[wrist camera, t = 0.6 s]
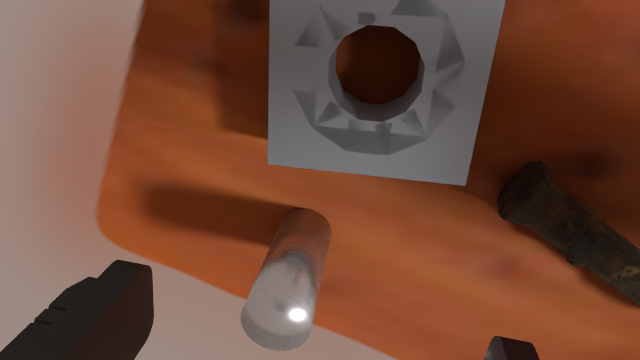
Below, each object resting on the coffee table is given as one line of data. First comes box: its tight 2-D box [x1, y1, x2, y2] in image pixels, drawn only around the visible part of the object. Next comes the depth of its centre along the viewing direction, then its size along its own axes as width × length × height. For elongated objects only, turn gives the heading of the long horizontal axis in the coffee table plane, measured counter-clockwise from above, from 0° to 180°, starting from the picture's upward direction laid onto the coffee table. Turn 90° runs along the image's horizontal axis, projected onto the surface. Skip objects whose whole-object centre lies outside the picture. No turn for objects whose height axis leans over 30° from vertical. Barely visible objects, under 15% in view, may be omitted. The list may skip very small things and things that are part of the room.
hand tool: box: [497, 161, 640, 306], centre depth 30 cm, size 19×4×5 cm, turn 53°
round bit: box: [241, 209, 331, 351], centre depth 30 cm, size 4×4×10 cm
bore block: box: [268, 0, 506, 186], centre depth 26 cm, size 12×12×4 cm
